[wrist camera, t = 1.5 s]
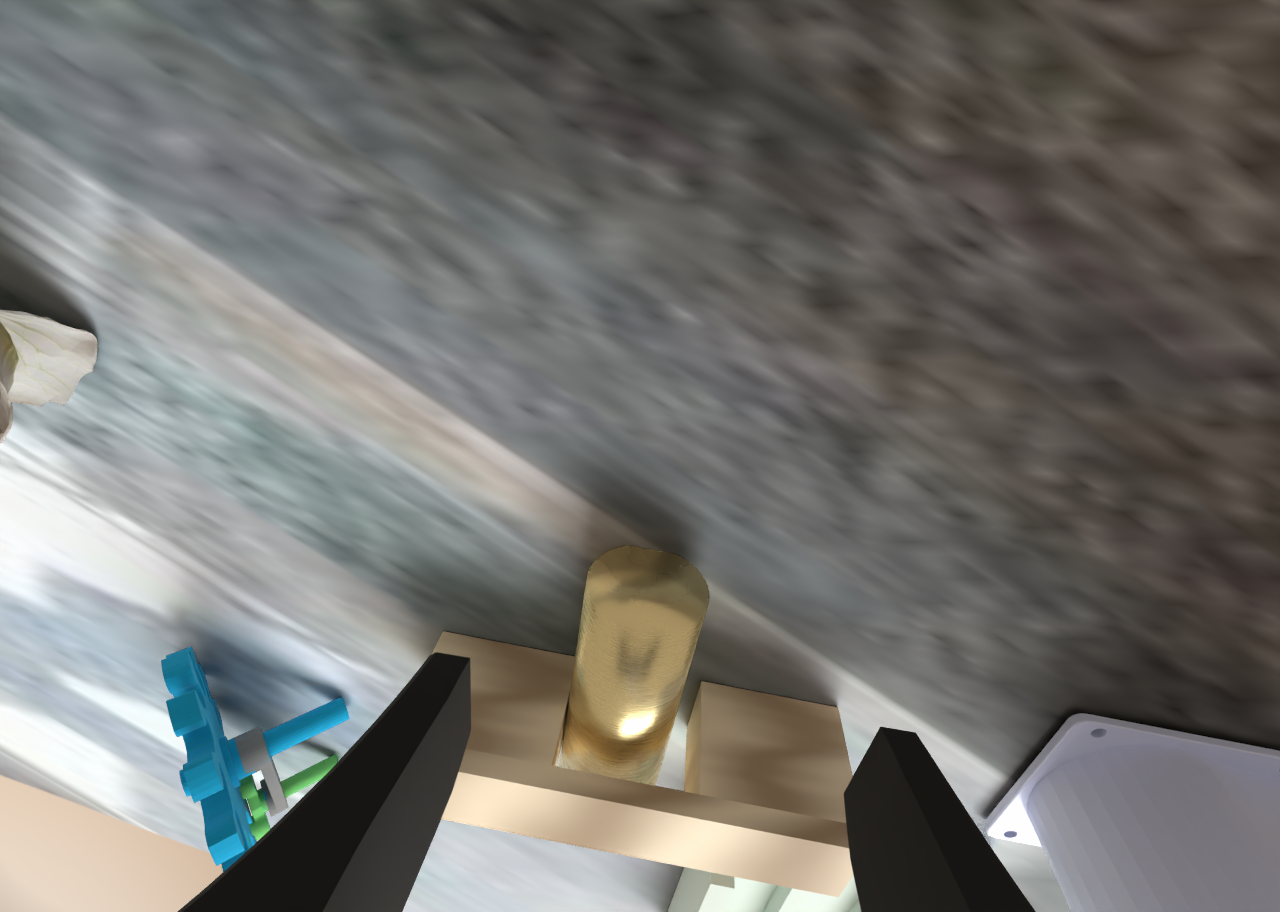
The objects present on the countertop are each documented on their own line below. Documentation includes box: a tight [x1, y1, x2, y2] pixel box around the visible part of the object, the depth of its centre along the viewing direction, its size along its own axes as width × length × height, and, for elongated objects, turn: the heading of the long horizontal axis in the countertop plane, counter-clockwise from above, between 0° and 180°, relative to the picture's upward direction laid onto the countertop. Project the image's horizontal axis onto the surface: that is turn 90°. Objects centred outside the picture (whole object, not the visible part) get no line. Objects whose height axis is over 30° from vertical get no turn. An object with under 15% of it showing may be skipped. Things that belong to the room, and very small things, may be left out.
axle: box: [559, 546, 709, 786], centre depth 22 cm, size 12×4×4 cm, turn 171°
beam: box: [431, 631, 853, 897], centre depth 22 cm, size 16×3×5 cm, turn 81°
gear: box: [161, 647, 349, 872], centre depth 25 cm, size 11×6×10 cm
